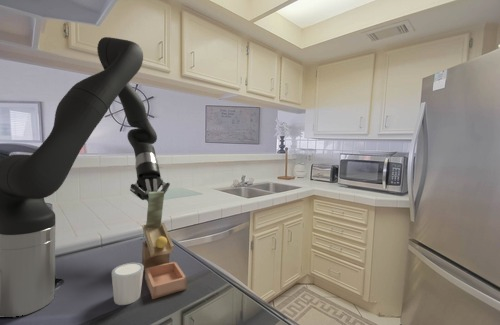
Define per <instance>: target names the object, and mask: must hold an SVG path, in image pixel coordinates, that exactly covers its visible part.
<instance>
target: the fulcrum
mask: <svg viewBox="0 0 500 325" xmlns="http://www.w3.org/2000/svg"><path fill="white" fill-rule="evenodd" d="M141 250H142V256H141V257H142V258H141V259H142V260H141V264H142V265H143V266H144V270H143V272H145V268H148V267H153V266H157V265H162V264H166V263H170V254H171V253H168V254H163V255H158V256H153V257H151V256H150V253H149V249H148V246H147V242H146V240H144V241H143V242H142V249H141Z"/></svg>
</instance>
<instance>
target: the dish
mask: <svg viewBox="0 0 500 325" xmlns="http://www.w3.org/2000/svg"><path fill="white" fill-rule="evenodd" d="M187 279H188V278H187V276H186V274H184V272H183V270H182V269H181V268H180V266H179V264H178V263H177V261H171V262H169V263H166V264H162V265H157V266H153V267H148V268H145V271H144V280H145V283H146V286H147V289H148V291H149V294H150V296H151V300H155V299H157V298H161V297H165V296H168V295H169V296H170V295H172V294H175V293H178V292H181V291H185V290H187V281H188V280H187Z"/></svg>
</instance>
